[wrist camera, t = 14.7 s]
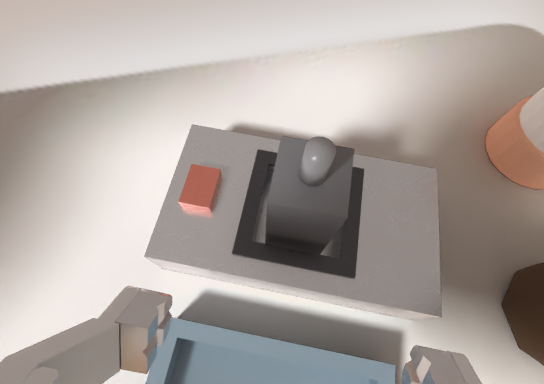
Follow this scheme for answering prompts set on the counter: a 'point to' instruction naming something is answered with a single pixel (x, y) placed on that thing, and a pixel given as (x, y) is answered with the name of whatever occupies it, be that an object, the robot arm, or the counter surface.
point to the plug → (308, 193)
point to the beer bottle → (527, 310)
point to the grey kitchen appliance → (294, 263)
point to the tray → (254, 360)
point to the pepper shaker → (520, 142)
